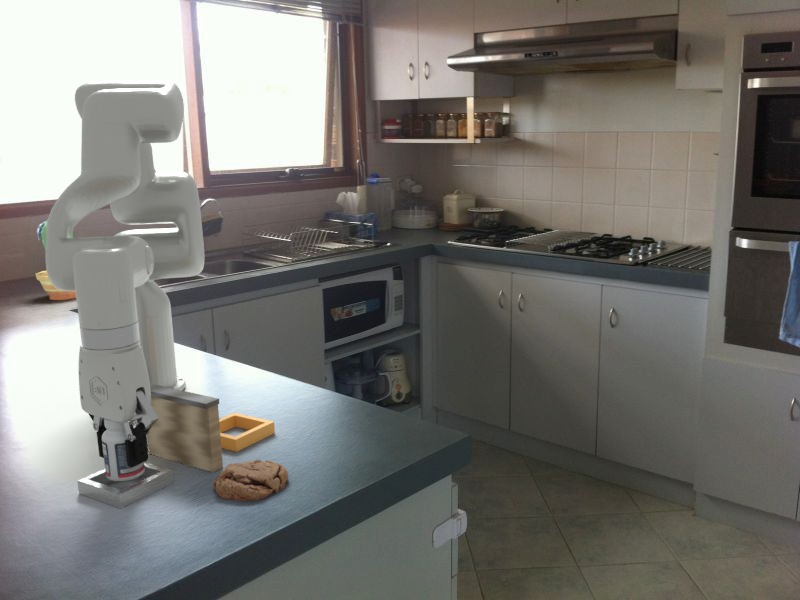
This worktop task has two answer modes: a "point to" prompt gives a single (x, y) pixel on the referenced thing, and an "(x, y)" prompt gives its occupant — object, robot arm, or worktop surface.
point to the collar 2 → (256, 432)
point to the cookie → (250, 480)
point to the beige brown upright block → (186, 428)
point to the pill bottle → (118, 453)
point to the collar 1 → (100, 491)
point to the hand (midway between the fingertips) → (123, 457)
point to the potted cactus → (42, 276)
